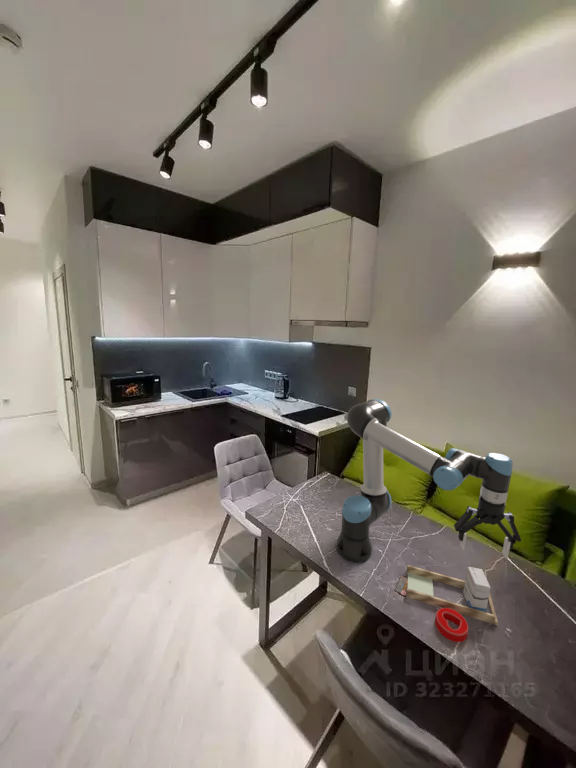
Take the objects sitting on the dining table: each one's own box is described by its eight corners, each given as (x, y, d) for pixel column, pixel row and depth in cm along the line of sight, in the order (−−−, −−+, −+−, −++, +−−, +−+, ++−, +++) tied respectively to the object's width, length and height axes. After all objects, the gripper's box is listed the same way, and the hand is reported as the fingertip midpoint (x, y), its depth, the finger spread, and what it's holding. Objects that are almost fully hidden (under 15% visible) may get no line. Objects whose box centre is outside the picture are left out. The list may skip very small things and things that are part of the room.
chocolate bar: (405, 600, 116) (405, 598, 115) (392, 593, 118) (392, 591, 118) (413, 580, 124) (413, 578, 124) (400, 574, 127) (400, 572, 127)
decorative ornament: (473, 634, 104) (475, 626, 103) (454, 648, 99) (455, 640, 99) (447, 610, 112) (448, 602, 111) (428, 621, 108) (429, 614, 107)
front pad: (407, 595, 117) (407, 594, 117) (407, 572, 127) (408, 572, 127) (433, 603, 114) (434, 602, 114) (432, 579, 124) (432, 579, 124)
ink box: (486, 615, 110) (491, 587, 107) (470, 612, 111) (475, 585, 108) (477, 594, 118) (482, 568, 115) (462, 592, 119) (467, 565, 116)
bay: (405, 596, 117) (406, 589, 116) (406, 570, 128) (407, 564, 127) (497, 625, 107) (498, 618, 106) (489, 594, 118) (490, 588, 117)
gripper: (455, 498, 107) (447, 552, 112) (540, 511, 101) (528, 567, 106) (449, 487, 114) (442, 537, 119) (529, 498, 108) (518, 551, 113)
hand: (483, 551), depth 112 cm, fingers open, 13 cm apart
